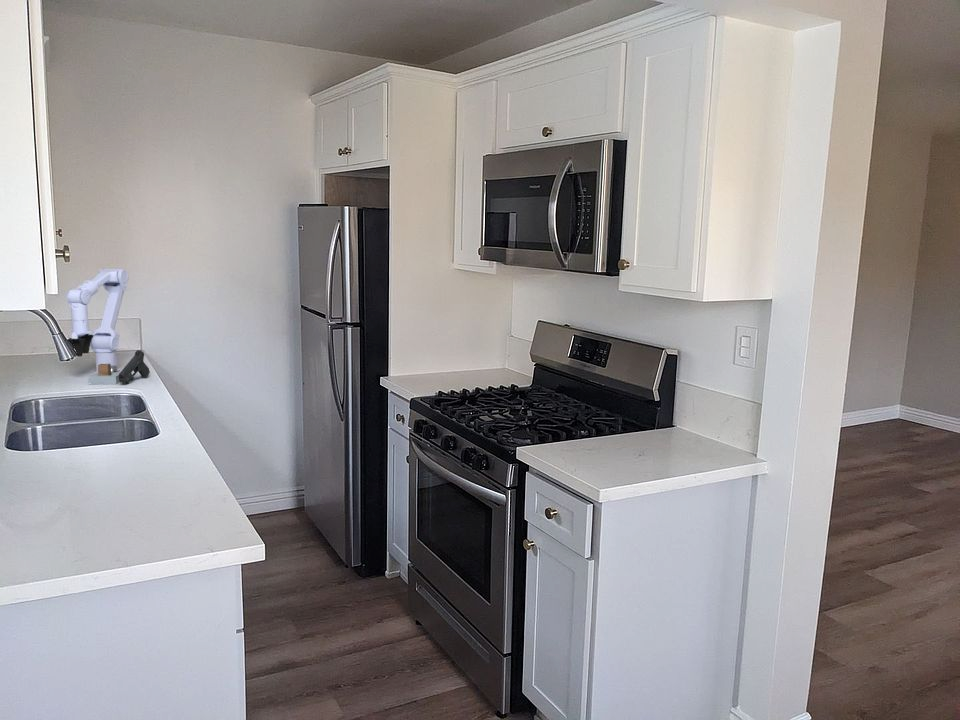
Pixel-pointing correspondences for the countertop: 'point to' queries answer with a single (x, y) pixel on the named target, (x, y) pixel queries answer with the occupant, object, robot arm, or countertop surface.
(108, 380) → the socket block
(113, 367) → the round bit
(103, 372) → the square bit
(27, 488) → the countertop surface
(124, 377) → the handgun
